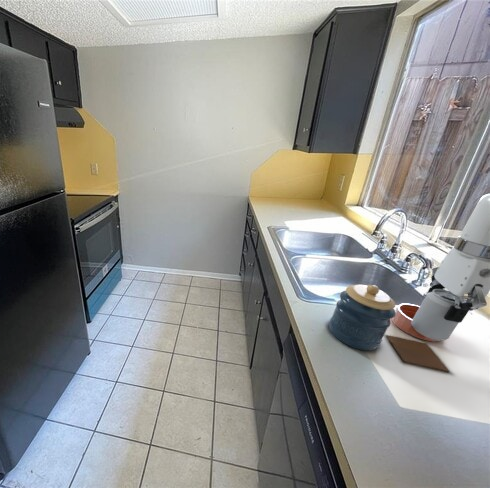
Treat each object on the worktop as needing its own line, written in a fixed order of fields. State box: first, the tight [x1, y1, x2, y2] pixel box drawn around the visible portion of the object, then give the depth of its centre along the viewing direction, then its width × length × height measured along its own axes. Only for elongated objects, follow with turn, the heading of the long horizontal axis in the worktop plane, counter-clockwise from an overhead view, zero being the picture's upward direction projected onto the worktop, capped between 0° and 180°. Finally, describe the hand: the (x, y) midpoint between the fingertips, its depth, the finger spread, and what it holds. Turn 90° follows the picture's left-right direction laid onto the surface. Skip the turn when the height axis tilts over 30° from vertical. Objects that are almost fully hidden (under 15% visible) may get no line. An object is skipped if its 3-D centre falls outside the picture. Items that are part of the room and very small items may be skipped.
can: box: [411, 289, 467, 341], centre depth 67 cm, size 8×8×12 cm
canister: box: [328, 284, 396, 351], centre depth 74 cm, size 13×13×18 cm
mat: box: [386, 334, 450, 373], centre depth 72 cm, size 10×10×1 cm
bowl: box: [391, 303, 441, 342], centre depth 81 cm, size 12×12×5 cm
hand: (441, 309), depth 66 cm, fingers closed on can, 7 cm apart
